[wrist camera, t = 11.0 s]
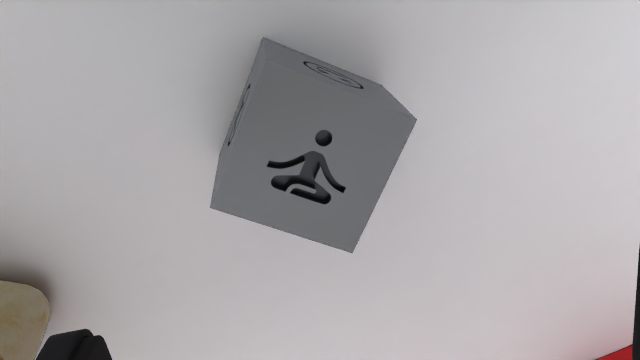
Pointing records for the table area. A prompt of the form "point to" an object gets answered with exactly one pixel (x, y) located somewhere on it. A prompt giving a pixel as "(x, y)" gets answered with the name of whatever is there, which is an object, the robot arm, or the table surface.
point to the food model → (21, 320)
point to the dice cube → (309, 148)
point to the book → (620, 355)
